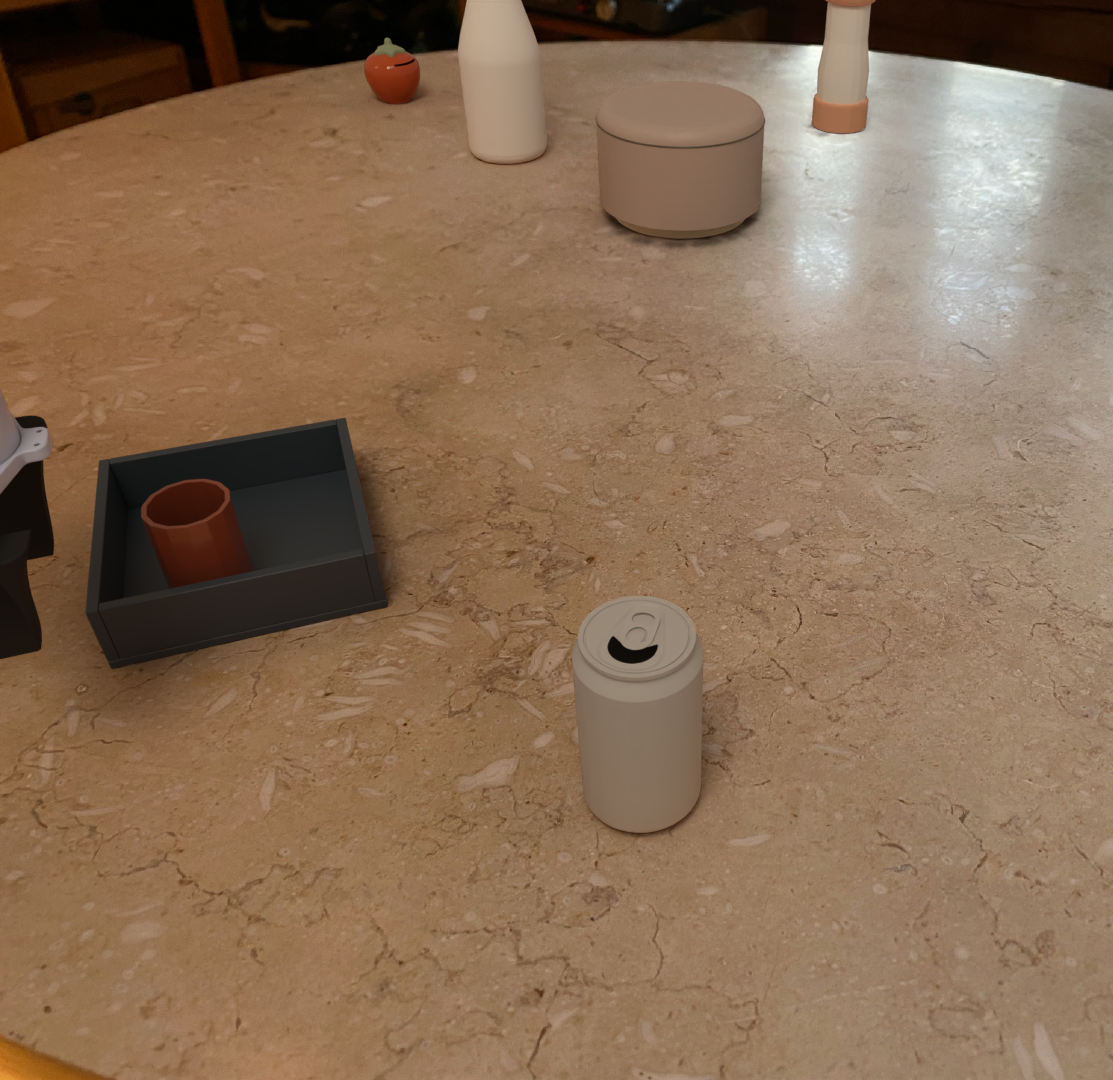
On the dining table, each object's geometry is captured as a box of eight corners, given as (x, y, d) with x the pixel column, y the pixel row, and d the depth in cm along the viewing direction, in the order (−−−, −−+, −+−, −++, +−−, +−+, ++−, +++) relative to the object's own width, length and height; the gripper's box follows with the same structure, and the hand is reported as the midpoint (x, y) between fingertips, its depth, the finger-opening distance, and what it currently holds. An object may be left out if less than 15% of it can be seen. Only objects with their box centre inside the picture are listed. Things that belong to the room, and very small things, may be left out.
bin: (110, 669, 66) (84, 613, 63) (120, 513, 77) (98, 460, 75) (388, 606, 70) (375, 552, 68) (357, 468, 82) (345, 417, 79)
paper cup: (175, 623, 68) (140, 536, 64) (175, 573, 72) (142, 487, 67) (259, 605, 69) (231, 518, 65) (255, 557, 73) (228, 472, 69)
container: (789, 228, 119) (796, 118, 111) (636, 255, 112) (633, 141, 105) (718, 172, 131) (720, 70, 124) (577, 194, 125) (570, 88, 118)
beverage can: (567, 827, 57) (549, 667, 50) (605, 736, 62) (595, 578, 55) (683, 853, 56) (684, 694, 49) (713, 759, 61) (718, 601, 54)
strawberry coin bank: (397, 111, 146) (387, 48, 141) (357, 101, 149) (346, 39, 144) (435, 97, 151) (427, 36, 146) (396, 88, 154) (386, 27, 149)
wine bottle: (527, 170, 130) (501, -120, 112) (456, 160, 133) (418, -126, 114) (560, 145, 138) (540, -132, 119) (492, 135, 140) (462, -138, 121)
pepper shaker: (801, 125, 145) (811, -34, 133) (830, 112, 150) (843, -43, 138) (847, 137, 142) (862, -25, 130) (876, 123, 146) (893, -35, 134)
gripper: (-9, 439, 43) (105, 678, 52) (26, 284, 54) (116, 504, 62) (-219, 473, 41) (-64, 716, 50) (-140, 305, 52) (-23, 530, 60)
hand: (26, 601), depth 56 cm, fingers open, 7 cm apart
